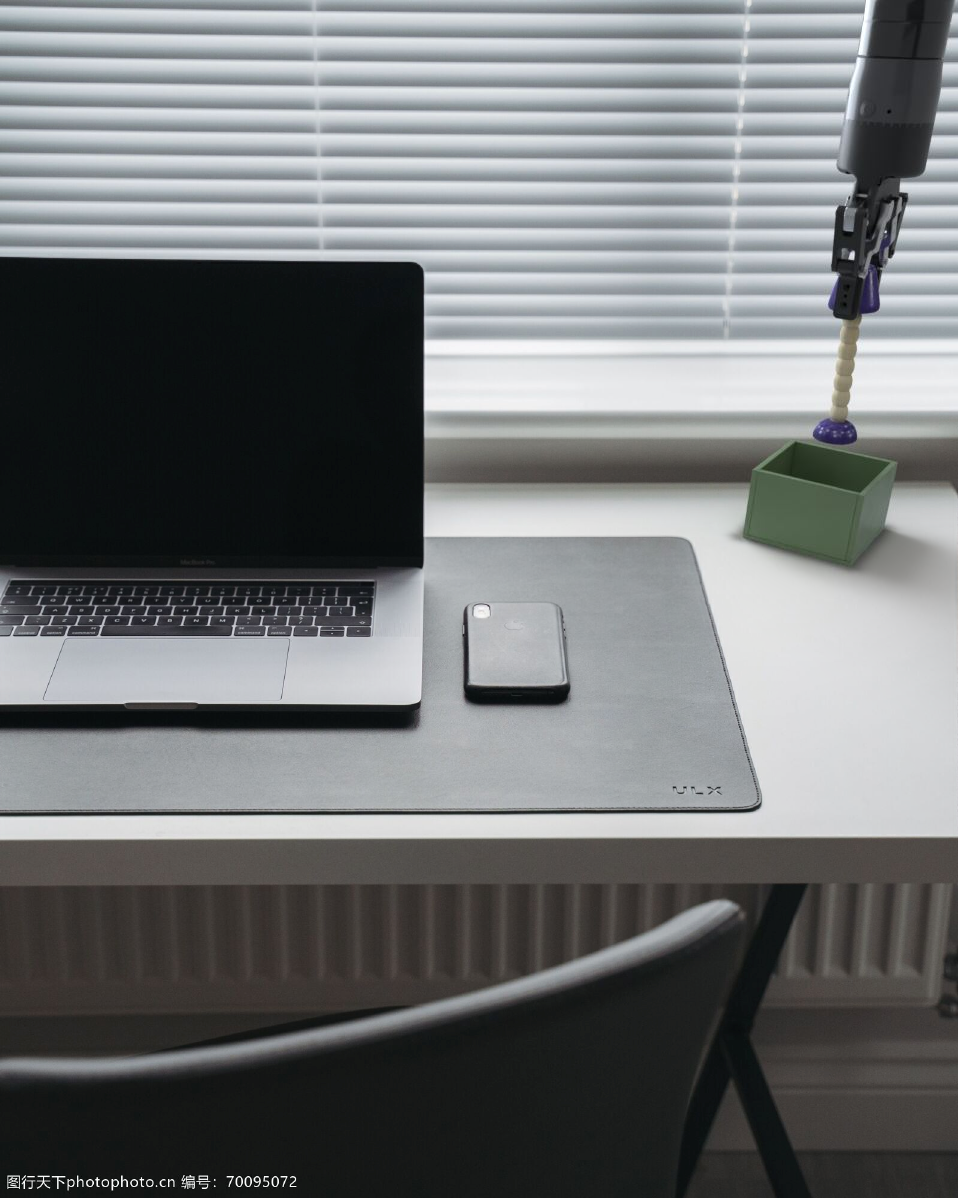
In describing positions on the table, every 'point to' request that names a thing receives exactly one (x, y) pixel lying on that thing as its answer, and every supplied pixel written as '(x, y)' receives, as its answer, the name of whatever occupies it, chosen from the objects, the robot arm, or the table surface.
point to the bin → (819, 501)
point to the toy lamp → (847, 367)
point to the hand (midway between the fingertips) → (854, 312)
